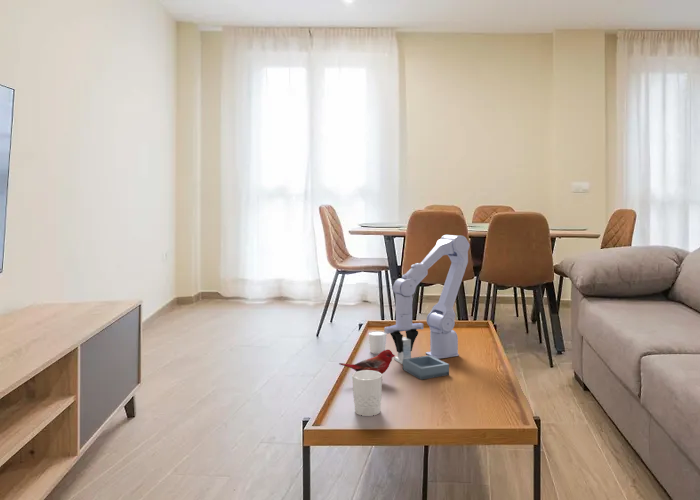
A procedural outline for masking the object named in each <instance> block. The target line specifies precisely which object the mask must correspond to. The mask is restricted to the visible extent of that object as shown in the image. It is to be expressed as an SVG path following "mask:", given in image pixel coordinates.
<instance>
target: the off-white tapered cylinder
mask: <svg viewBox="0 0 700 500" xmlns="http://www.w3.org/2000/svg"><path fill="white" fill-rule="evenodd" d="M368 341H369V342H368V343H369V351H370V353H372V354H380V353H381V352H382V351H384V350H386V347H387V345H386V343H387V333H385V332H384V331H380V330H377V331H376V330H375V331H369V332H368Z"/></svg>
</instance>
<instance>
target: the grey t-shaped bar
mask: <svg viewBox="0 0 700 500" xmlns="http://www.w3.org/2000/svg"><path fill="white" fill-rule="evenodd" d="M401 345H402V350H401V353H399V352H397V356H396V357H393V360H394V361H396V362H397V363H400V364H401V365H403V359H408V358H412V351H411V339H409V338H407V337H406V336H403V337H402V344H401Z"/></svg>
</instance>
